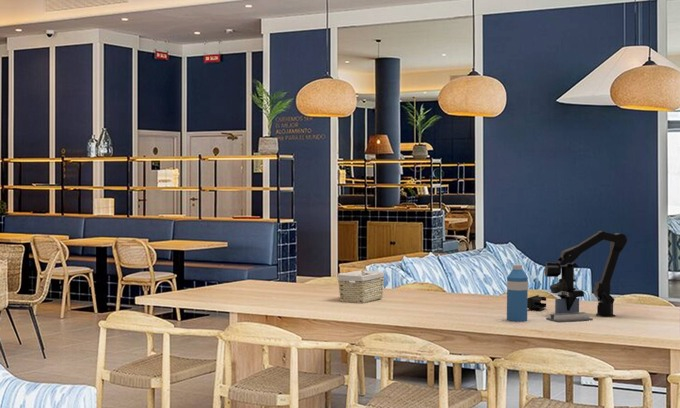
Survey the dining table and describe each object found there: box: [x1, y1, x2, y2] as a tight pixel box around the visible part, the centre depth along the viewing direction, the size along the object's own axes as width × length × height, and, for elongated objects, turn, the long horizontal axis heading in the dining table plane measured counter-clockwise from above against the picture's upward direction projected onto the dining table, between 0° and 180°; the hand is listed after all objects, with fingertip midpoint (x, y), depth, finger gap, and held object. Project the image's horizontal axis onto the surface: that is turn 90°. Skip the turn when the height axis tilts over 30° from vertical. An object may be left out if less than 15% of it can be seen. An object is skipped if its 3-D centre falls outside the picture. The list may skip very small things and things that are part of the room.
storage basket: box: [337, 269, 385, 304], centre depth 492 cm, size 24×16×15 cm
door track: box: [545, 311, 593, 323], centre depth 426 cm, size 18×10×3 cm, turn 111°
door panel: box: [554, 297, 580, 314], centre depth 439 cm, size 12×2×8 cm, turn 111°
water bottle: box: [506, 264, 529, 323], centre depth 424 cm, size 9×9×25 cm
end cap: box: [527, 295, 547, 312], centre depth 459 cm, size 10×7×7 cm
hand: (567, 310), depth 439 cm, fingers closed on door panel, 2 cm apart
